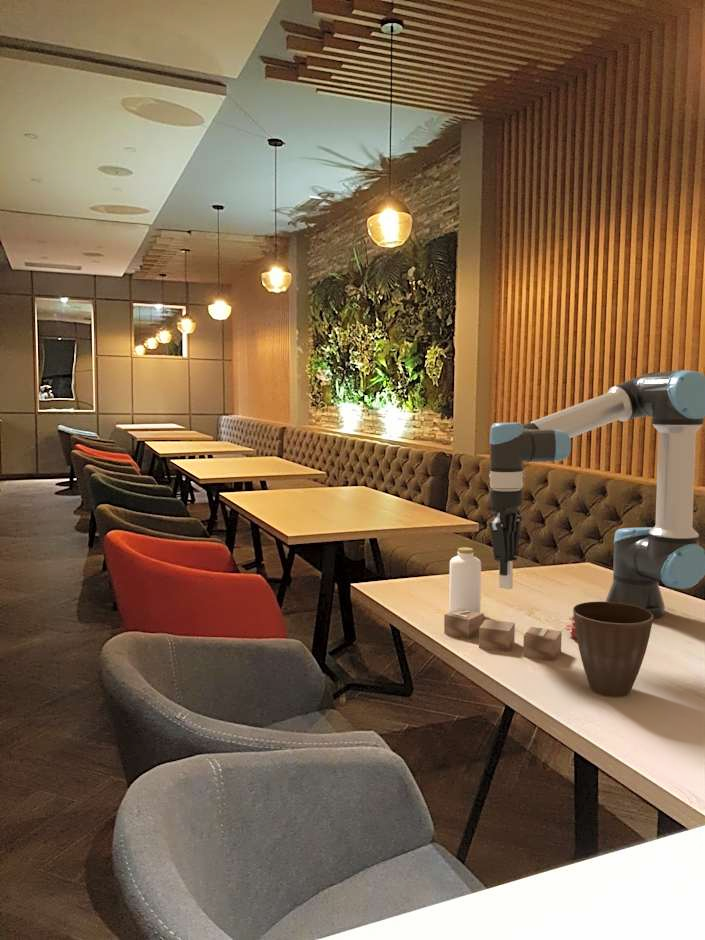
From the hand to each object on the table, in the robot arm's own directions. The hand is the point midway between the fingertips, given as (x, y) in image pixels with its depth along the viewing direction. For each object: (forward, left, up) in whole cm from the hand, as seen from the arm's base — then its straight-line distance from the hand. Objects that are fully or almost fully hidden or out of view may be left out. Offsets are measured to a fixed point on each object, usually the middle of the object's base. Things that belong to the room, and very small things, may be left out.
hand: (505, 587), depth 174 cm
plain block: (+1, +2, -14) cm, 14 cm away
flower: (-16, -13, -14) cm, 24 cm away
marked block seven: (+11, -3, -14) cm, 18 cm away
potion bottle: (+16, -18, -14) cm, 28 cm away
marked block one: (-10, +3, -14) cm, 17 cm away
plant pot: (-27, +18, -14) cm, 35 cm away
